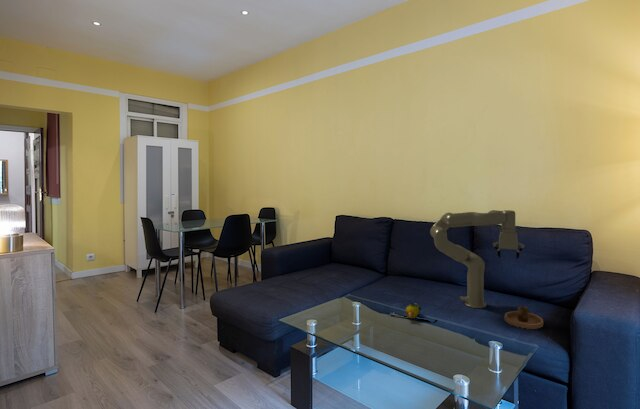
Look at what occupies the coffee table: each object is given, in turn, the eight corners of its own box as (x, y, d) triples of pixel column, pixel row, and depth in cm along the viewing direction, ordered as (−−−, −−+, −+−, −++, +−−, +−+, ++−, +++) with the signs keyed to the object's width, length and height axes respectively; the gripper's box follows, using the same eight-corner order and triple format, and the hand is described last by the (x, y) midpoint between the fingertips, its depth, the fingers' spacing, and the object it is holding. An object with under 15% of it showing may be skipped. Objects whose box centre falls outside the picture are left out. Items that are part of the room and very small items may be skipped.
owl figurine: (385, 304, 203) (393, 296, 216) (386, 318, 203) (393, 310, 217) (434, 311, 189) (439, 303, 203) (434, 327, 190) (439, 317, 203)
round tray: (503, 325, 187) (503, 321, 187) (504, 312, 204) (504, 309, 203) (544, 331, 178) (544, 327, 178) (542, 318, 194) (542, 314, 194)
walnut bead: (517, 321, 190) (517, 308, 189) (517, 317, 194) (517, 305, 194) (528, 322, 188) (528, 309, 187) (528, 319, 192) (528, 306, 191)
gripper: (492, 230, 213) (492, 257, 214) (524, 232, 204) (524, 260, 205) (493, 228, 219) (493, 255, 220) (524, 230, 210) (524, 257, 212)
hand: (508, 257), depth 213 cm, fingers open, 9 cm apart
